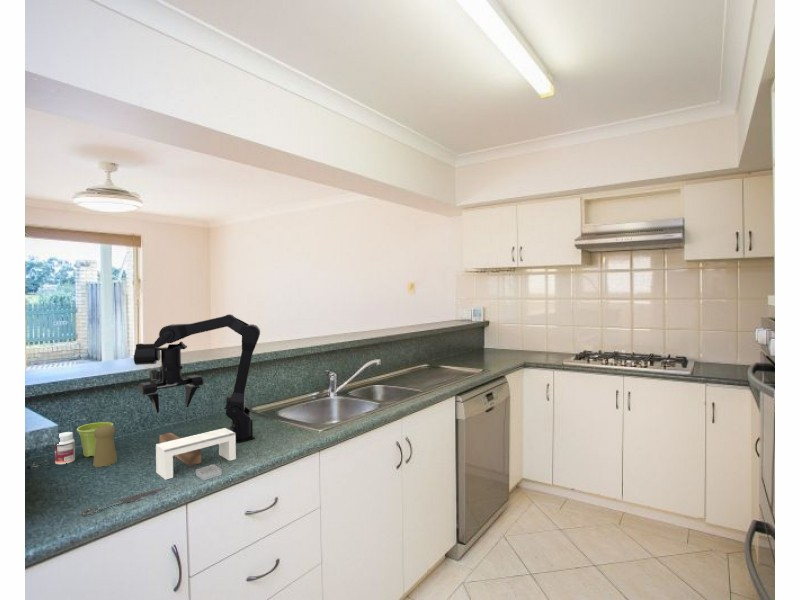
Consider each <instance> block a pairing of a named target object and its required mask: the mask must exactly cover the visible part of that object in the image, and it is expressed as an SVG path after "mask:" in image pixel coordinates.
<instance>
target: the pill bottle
mask: <svg viewBox="0 0 800 600" xmlns="http://www.w3.org/2000/svg"><path fill="white" fill-rule="evenodd" d="M58 434H59V438H60V442H59V444H57V445H55V444H54V459H55V460H54V463H55V464H56V465H66V463H67V464H70V463H73V462H74V461H75V460H76V451H75V450H76V449H75V448H76V447H75V443H76V441H75V439H74V433H73V431H66V432H65V431H64V432H59V433H58Z"/></svg>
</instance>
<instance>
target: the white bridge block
mask: <svg viewBox="0 0 800 600" xmlns="http://www.w3.org/2000/svg"><path fill="white" fill-rule="evenodd" d="M179 438H180V439H176V440H172V441H168V442H164V443H160V442H159V443H156V444H155V472H156V474H158V476H160V477H162V479H164V481H165V480H168V479H172V478H174V457H175V456H174V455H178V454H182V453H186V452H189V451H193V450H197V449H200V450H201V449H204V448H208V447H211V446H216V445H218V455H219V456H220V457H222V458H224V459H226V460H227V461H234V460H236V459H237V455H236V454H237V453H236V452H237V451H236V450H237V448H236V443H237V442H236V435H235V432H233V431H230V429H228V428H226V427H223V428H219V429H214V430H210V431H207V432H202V433H198V434H194V435H190V436H185V437H179Z"/></svg>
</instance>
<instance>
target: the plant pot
mask: <svg viewBox="0 0 800 600" xmlns="http://www.w3.org/2000/svg"><path fill="white" fill-rule="evenodd" d="M105 425H111V426H113V427H114V423H112V422H109V421H103V422H92V423H87V424H83V425H81V426H78V427H77V428H76V431H77V432H78V434H79V436H80V440H81V441H80V443H81V447H82V453H83V456H84V457H87V458H88V457H94V454H95V447H96V438H95V436H94V431H95V430H96V428H98V427H100V426H105Z"/></svg>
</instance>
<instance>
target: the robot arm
mask: <svg viewBox="0 0 800 600" xmlns="http://www.w3.org/2000/svg"><path fill="white" fill-rule="evenodd" d="M226 327H227V328H229V329H230V330H231V331H234V332H235V333H236V334H238V335H240V336H241V355H240V359H239V364H238V368H237V373H236V379H235V384H234V389H233V391H232V393H227V395H226V399H225V400H226V401H225V402H226V403H225V406H224V408H223V409H224V410H225V416H227V418H229V419H230V420H231V421H230V423H231V424H230V425H231V426H230V427H229V430H230V431H233V432H235V435H236V443H238V444H239V443H242V442H246V441H250V440H254V439H256V436H255V435H254V434H253V433H254V432H253V431H254V429H253V428H254V425H253V424H254V423H253V419H252V418H251V416H252V410H250V409H249V408H248V407H247V406H246V388H247V382H248V377H249V373H250V368H251V363H252V358H253V353H254V351H255V348H256V346H257V343H258V341H259V338H260V335H261V330H260V328H259V326H257V325H256V324H251V323H250V324H249V323H247V322H246V321H243V320H242V319H239V318H238V317H235V316H234V315H233V314H226V315H223V316H219V317H213V318H209V319H205V320H201V321H196V322H192V323H176V324H174V323H173V324H172V323H171V324H168V325H166V326H163V327H162V328H161V329H160V330H159V332H158V337H157V339H156V340H155V341H154V342H153V343H137V344H135V349H134V354H133V361H134V364H135V366H139V365H140V366H141V365H156V364H157V362H159V361H161V365H160V368H159V371H158V369H151V370H150V371H149V378H150V381H146V382H140V383H139V384H138V385H137V393H139V394H142V395H144V396H146V397H148V398H149V401H151V404H152V406H153V408H154V411H155V413H156V414H159V413H160V399H159V392H157V391H158V390H162V389H168V388H174V387H179V386H184V389H185V399H184V400H185V401H184V403H185V404H184V405H185V408H189V406H190V404H191V402H192V399H193V398H194V395H195V393H196V391H197V389H200V388H201V387H200V386H203V385H204V384H205V382H204V377H203V376H201V375H198V374H192V375H187V376H186V377H185V378H184V379H183V377H182V370H183V365H182V354H181V353H182V352H181V351H182V350H185V349H188V345H186V344H185V343H184V342H183V341H179V340H182V339H185V338H187V337H189V336H192V335H197V334H201V333H205V332H206V333H207V332H210V331H214V330H218V329H223V328H226ZM178 341H179V343H175V342H178ZM167 344H168V345H167ZM165 345H167V346H165ZM163 346H165V347H163ZM153 381H154V382H153ZM155 381H156V382H155Z"/></svg>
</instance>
